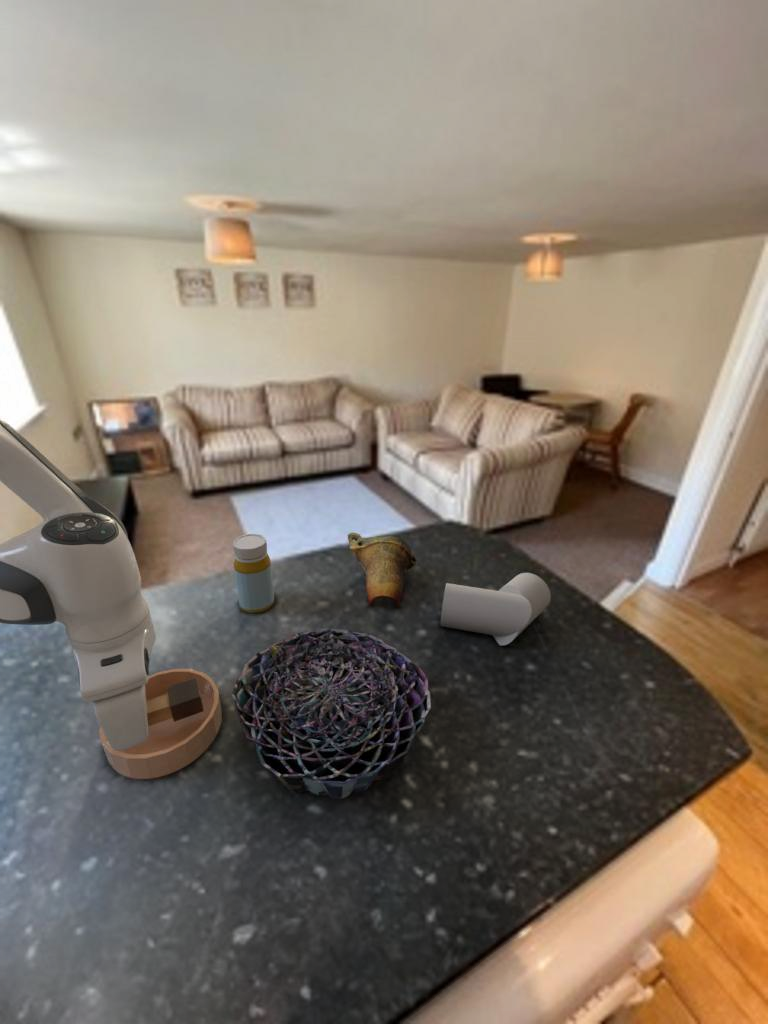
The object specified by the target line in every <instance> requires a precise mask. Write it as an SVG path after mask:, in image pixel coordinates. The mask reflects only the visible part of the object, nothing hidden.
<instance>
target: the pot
mask: <svg viewBox="0 0 768 1024" xmlns="http://www.w3.org/2000/svg"><path fill="white" fill-rule="evenodd" d="M347 541H348V544H349V549H351V551H352V554H353V555H354V557H355V559H356V561H357V562H358V563H359V564H361V566H362V568H363V571H364V573H365V576H366V577H365V582H366V586H365V587H366V594H367V599H368V602H369V606H372V602H373V600H374V599H376V598H377V597H389V598H391V599H393V600H395V601H396V605H395V606H396V608H399V603H400V600H401V598H402V596H403V588H404V573H405V572H409V571H410V570H411V569H412V568H414V567H416V566H417V565H418V563H417V558H416V557H415V556H414V555H413V554H412V549H411V547H410V546H409V544H408V543H407V542H406V541H405V540H404V539H403V538H401V537H398V536H395V535H394V536H393V535H377V536H373V537H362V536H361V534H360V533H357V532H350V533H348V534H347Z"/></svg>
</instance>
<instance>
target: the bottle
mask: <svg viewBox="0 0 768 1024" xmlns="http://www.w3.org/2000/svg"><path fill="white" fill-rule="evenodd" d="M232 545H233V554H234V561H233V570H234V571H233V572H234V577H235V586H236V592H237V597H238V599H237V600H238V604H239V608H240V609H241V610H242V611H244V612H246V613H249V614H256V613H257V614H258V613H262V612H264V611H267V610H268V609H270V608H271V607H272V606H273V605H274V604H275V603H274V602H275V592H274V582H273V581H274V580H273V573H272V572H273V571H272V563H271V558H270V556H269V554H268V544H267V539H266V537H265V536H264V535H262V534H260V533H246V534H243V535H240V536H238V537H236V538H235V539H234V540H233V543H232Z"/></svg>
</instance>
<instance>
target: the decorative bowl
mask: <svg viewBox="0 0 768 1024" xmlns="http://www.w3.org/2000/svg"><path fill="white" fill-rule="evenodd" d="M231 697H232V701H233V702H234V704H235V709H234V711H235V714H237V716H238V718H239V719H240V720H239V723H240V726H241V727H242V730H243V732H244V734H245V737H246V739H247V740H250V741H251V742H253V743H254V744H255V750H256V754H257V756H258V759H259V761H260V764H261V766H263V767H264V768H266V769H268V770H269V771H270V772H272V773H273V774H274V775H275V776H276V778H278V780H279V781H280V782H281V783H282V784H283V785H284V786H285V788H286V789H288V790H289V791H291V792H292V793H294V794H299V793H306V792H308V791H309V793H311V794H312V795H316V796H328V797H330V798H331V799H341V800H342V799H345V798H349V796H350V795H351V794H352V793H354V794H357V793H362V792H365V791H366V790H367V789H368V788H369V787H370V786H371V785H372V784H373V782H381V781H383V780H384V779H386V778H388V777H389V775H390V774H391V772H392V770H394V768H395V766H396V765H397V763H398V762H399V760H400V759H401V757H402V756H404V755H406V754H407V753H409V750H410V749H411V747H412V745H413V742H414V741H415V738H416V735H417V734H418V733H419V732H420V730H421V729H422V728H423V727H424V726H425V718H426V716H427V715H428V713H429V711H430V710H431V708H432V706H431V703H432V702H431V692H430V690H429V678H428V676H427V675H426V674H425V673H424V671H423V670H422V668H421V667H420V666H418V665H417V664H415V663H414V662H412V660H411V659H410V658H408V657H407V656H406V655H404V653H402V652H400V651H399V650H398V649H397V648H395V647H393V646H391V645H389V644H387V643H385V642H384V641H383V640H382V639H381V638H379V637H376V636H374V635H372V634H370V633H367V632H357V631H353V630H351V629H340V628H339V629H338V628H330V627H329V628H328V627H326V628H322V629H317V630H308V631H307V630H306V631H300V632H297V633H296V634H294V635H291V636H288V637H286V638H283V639H281V640H278V641H276V642H273V644H272V645H270V646H269V647H267V648H266V649H264V650H260V651H259V652H257V653H256V654H255V655H254V656H252V657H251V658H250V659H249V660H248V661H247V662H246V663H245V664H244V666H243V669H242V672H241V675H240V676H239V677H238V678H237V679H236V681H235V684H234V688H233V691H232V694H231ZM350 773H355V774H350Z"/></svg>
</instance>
